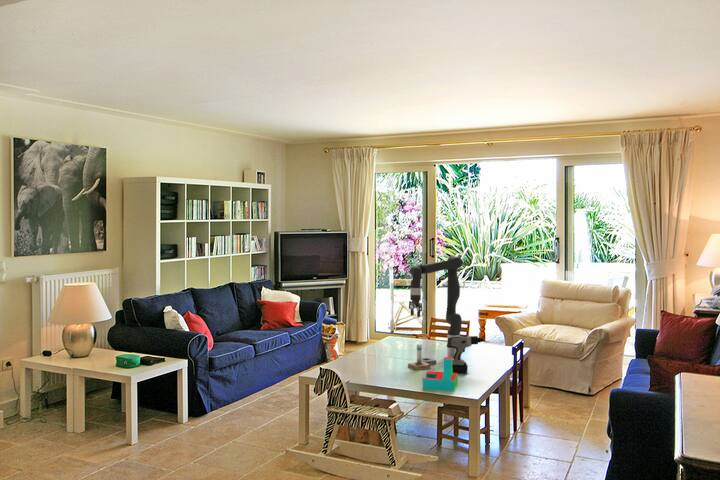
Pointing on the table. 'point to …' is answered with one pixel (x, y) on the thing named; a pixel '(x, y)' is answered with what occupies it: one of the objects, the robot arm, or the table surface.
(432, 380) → the building blocks toy
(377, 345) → the table surface
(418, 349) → the clear test tube
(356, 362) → the table surface
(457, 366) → the cordless drill
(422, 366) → the rack block
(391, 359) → the table surface
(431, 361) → the grey flat square frame
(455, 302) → the robot arm
